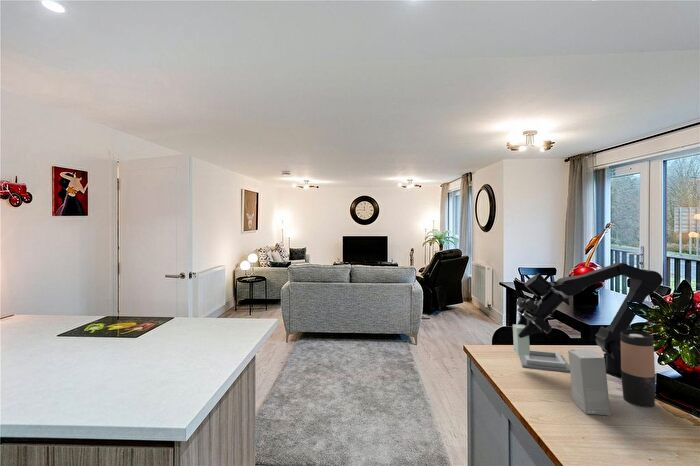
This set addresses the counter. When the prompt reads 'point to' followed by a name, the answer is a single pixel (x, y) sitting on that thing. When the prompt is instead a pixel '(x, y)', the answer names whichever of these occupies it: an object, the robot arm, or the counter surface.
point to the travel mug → (638, 368)
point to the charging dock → (545, 361)
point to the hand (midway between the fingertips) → (517, 334)
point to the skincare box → (589, 381)
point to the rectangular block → (520, 341)
